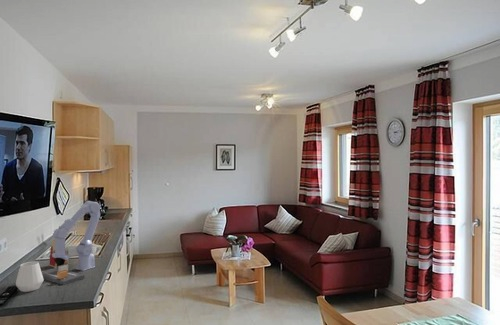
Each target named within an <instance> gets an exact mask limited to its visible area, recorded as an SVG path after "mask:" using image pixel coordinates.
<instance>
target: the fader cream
mask: <svg viewBox="0 0 500 325" xmlns="http://www.w3.org/2000/svg"><path fill="white" fill-rule="evenodd" d="M57 269H58V272H59V271H63V270H67V271H69V265H67V264H64V265H61V266H58V267H57Z"/></svg>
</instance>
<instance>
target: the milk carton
mask: <svg viewBox="0 0 500 325" xmlns="http://www.w3.org/2000/svg"><path fill="white" fill-rule="evenodd" d="M67 252H68V251H67V247H66V245H65V254H66V255H67V256H68V253H67ZM49 253H50V254H49V262H48V264H49V265H48V266H49V267H52V268H54V269H58V267H57V264H56V262H55V261H54V259H56V258H54V257H52V254H53V253H55V237H54V236H53V240H52V242H51V245H50V252H49ZM64 264H67V265H68V264H69V265H70V263H69V259H68V260H66V261H65V263H64ZM69 265H68V266H69Z"/></svg>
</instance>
